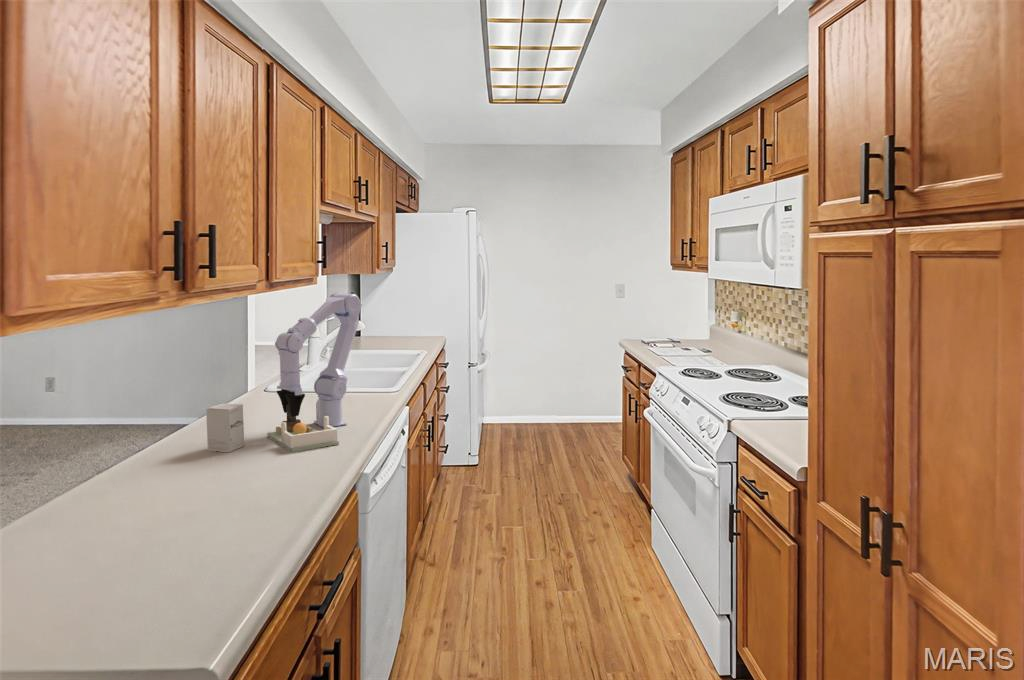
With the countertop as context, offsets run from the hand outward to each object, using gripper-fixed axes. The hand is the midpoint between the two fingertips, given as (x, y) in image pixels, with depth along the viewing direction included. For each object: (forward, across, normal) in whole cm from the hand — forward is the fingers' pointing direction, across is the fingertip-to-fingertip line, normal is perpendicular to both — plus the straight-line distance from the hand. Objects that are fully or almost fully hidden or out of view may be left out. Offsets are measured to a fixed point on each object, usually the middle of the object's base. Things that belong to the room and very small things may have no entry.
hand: (291, 414), depth 214 cm
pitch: (+6, +8, 0) cm, 10 cm away
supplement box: (+7, +5, -21) cm, 23 cm away
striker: (+5, 0, 0) cm, 5 cm away
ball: (+3, +7, 0) cm, 8 cm away
